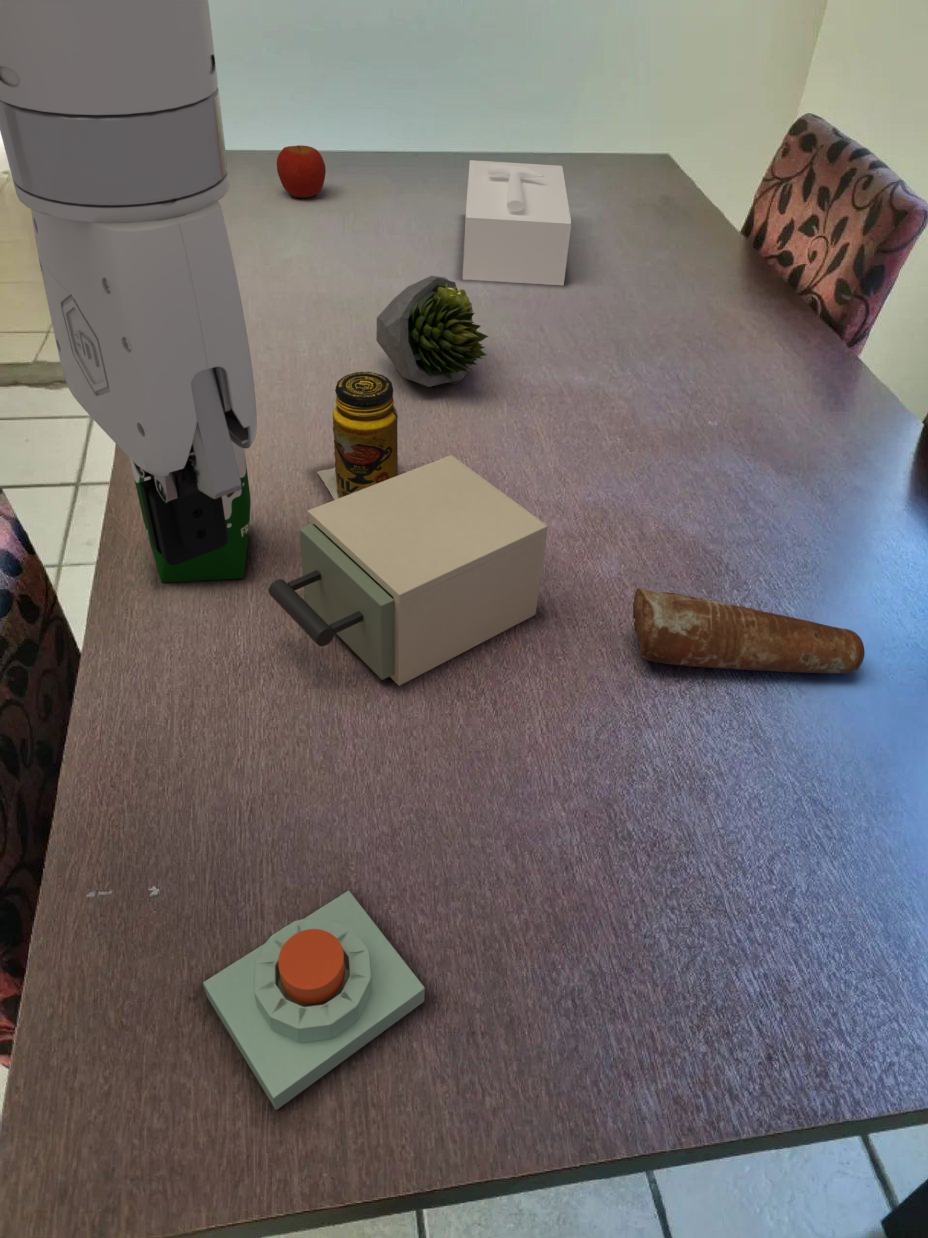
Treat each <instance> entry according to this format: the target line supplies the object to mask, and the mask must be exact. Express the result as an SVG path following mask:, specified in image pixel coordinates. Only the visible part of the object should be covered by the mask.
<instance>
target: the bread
mask: <svg viewBox="0 0 928 1238" xmlns="http://www.w3.org/2000/svg"><path fill="white" fill-rule="evenodd" d="M632 618H633V619H634V622H633V628H634V631H635V632H636V634H637V637H638V640H639V651H640V652H639V653H640V654H639V655H640V658H642V659H643V660H646V661H649V662H654V663H658V664H659V663H660V664H666V665H673V666H685V667H694V668H706V669H707V668H708V669H732V670H733V669H734V670H742V671H745V670H746V671H767V672H768V671H769V672H779V673H809V674H852V673H854V672H855V671H857V670H858V669H859V668H861V666H862V664H863V662H864V659H865V654H866V653H865V645H864V642H863V640H862V638H861V637H860V635H858V633H857V632H855V631H853V630H851V629H849V628H844V627H843V628H842V627H837V626H831V625H827V624H823V623H819V622H815V621H811V620H807V619H803V618H802V619H801V618H797V617H792V616H786V615H783V614H778V613H775V612H769V611H764V610H759V609H755V608H751V607H746V606H740V605H734V604H730V603H726V602H721V601H717V600H711V599H706V598H701V597H695V596H690V595H684V594H681V593H675V592H667V591H657V590H651V589H647V588H640V587H639V588H637V589H636V590H635V594H634V597H633V602H632Z"/></svg>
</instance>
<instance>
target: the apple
mask: <svg viewBox="0 0 928 1238" xmlns="http://www.w3.org/2000/svg"><path fill="white" fill-rule="evenodd" d="M276 170H277V175H278V178H279V181H280V183H281V185H282V187H283V189H284V190H285V192H286V193H288V194H289V195H290V196H291V197H294V198H297V199H307V198H312V197H315V196H316V195H318V194H319V193H320V192H321V191H322V188H323V187H324V183H325V179H326V174H327V169H326V164H325V160H324V158H323V155H322V154H321V153H320V152H319V150H317V149H316V148H315V147H312V146H309V145H301V144H299V145H298V144H297V145H289V146H285V147H283V148H282V149H281V150H280V152H279V153H278V155H277V158H276Z"/></svg>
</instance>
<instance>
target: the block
mask: <svg viewBox="0 0 928 1238" xmlns="http://www.w3.org/2000/svg"><path fill="white" fill-rule="evenodd" d="M308 929H320V930H324V931H327V932H329V933H331V934H332V935H334V936H335V937H336V938H337V939H338V941H339V942H340V944H341V946H342V948H343V953H344V965H345V975H344V980H343V982H342V985H341V986H340V988H339V990H338V991H337V992H336V993H335V994H334V995H333V996H332V997H330V998H329V999H327V1000H325V1001H323V1002H320V1003H316V1004H304V1003H300V1002H297V1001H295V1000H293V999H292V998H290V997H289V996H288V995H287V993H286V992H285V991H284V989H283V986H282V983H281V978H280V972H279V966H278V958H279V954H280V951H281V949H282V947H283V945H284V944H285V943H286V942H287V940H288V939H289V938H291V937H292V936H293V935H295V934H297V933H298V932H301V931H304V930H308ZM202 985H203V988H204V993H205V995H206V998H207V999H208V1002H210V1004H211V1006H212V1008H213V1009H214V1011H215V1012H216V1014H217V1016H218V1017H219V1019H220V1021H221V1023H222V1024H223V1026H224V1027H225V1029H226V1031H227V1033H228V1034H229V1035H230V1037H231V1040H233V1042H234V1044H235V1045H236V1047H237V1049H238V1050H239V1051H240V1053H241V1056H242V1057H243V1059H244V1060H245V1062H246V1063H247V1066H248V1067H249V1069H250V1070H251V1072H252V1074H253V1075H254V1077H255V1078H256V1080H257V1081H258V1083H259V1085H260V1086H261V1088H262V1090H263V1091H264V1094H265V1095H266V1097H267V1098H268V1099H269V1102H270V1103H271V1105H272V1106H273V1108H274V1110H275V1111H278V1110H279V1109H280V1108H281V1107H283V1106H284V1105H286V1104H287V1103H289V1102H290V1101H291V1100H293V1099H294V1098H295V1097H296V1096H298V1095H299V1094H301V1093H302V1092H304V1090H306V1089H307V1088H309V1087H310V1086H311V1085H313V1084H314V1083H316V1082H317V1081H318V1080H319V1079H321V1078H322V1077H323V1076H325V1075H326V1074H328V1073H329V1072H330V1071H332V1070H333V1069H334V1068H336V1067H337V1066H339V1065H340V1064H341V1063H343V1062H344V1061H345V1060H347V1059H348V1058H349V1057H351V1056H353V1055H354V1054H355V1053H357V1051H359V1050H361V1049H362V1048H363V1047H365V1046H366V1045H367V1044H368V1043H371V1041H373V1040H374V1039H375V1038H377V1037H378V1036H379V1035H381V1034H382V1033H383V1032H384V1031H387V1030H388V1029H389V1028H390V1027H392V1026H393V1025H395V1024H396V1023H397V1022H399V1021H400V1020H401V1019H403V1018H404V1017H405V1016H406V1015H408V1014H409V1013H411V1012H412V1011H414V1010H415V1009H416V1008H417V1007H418V1006H420V1005H422V1004H423V1003H425V996H426V995H425V994H426V993H425V992H426V987H425V986H424V985H423V983H422V982H421V981H420V979H419V978H418V977H417V976H416V975H415V973H414V972H413V971H412V969H411V968H410V967H409V965H408V964H407V963H406V962H405V960H404V958H402V956H401V955H400V954H399V952H397V950H396V949H395V948H394V946H393V945H392V943H390V940H388V938H386V936H385V935H384V934H383V932H382V931H381V929H380V928H379V927H378V926H377V924H375V922H374V920H372V918H371V916H370V915H369V914H368V913H367V912H366V911H365V909H364V908H363V906H362V905H361V904H360V903H359V902H358V900H357V898H355V896H354V895H353V894H352V893H351V891H350V890H347V891H345V892H343V893H342V894H340V895H338V896H337V897H336V898H334V899H333V900H331V901H329V902H328V903H326V904H324V905H323V906H321V907H320V908H319V909H317V910H315V911H313V912H312V913H311V914H309V915H307V916H306V917H303V919H296V920H293V921H292V922H291V923H289V924H287V925H286V926H284V927H283V928H281V929H279V930H278V931H276V932H274V933H273V934H272V935H271V936H270V937H269V938H268V939H267V941H266V942H264V943H263V944H261V945H260V946H259V947H256V948H255V949H253V950H252V951H251V952H249V953H247V954H246V955H243V956H242V957H240V958H239V959H238V960H236V961H234V962H233V963H232V964H230V965H228V966H227V967H225V968H223V969H222V970H220V971H218V972H217V973H215V974H214V975H213V976H211V977H209V978H208V979H206V980H204V981H203V982H202Z"/></svg>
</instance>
